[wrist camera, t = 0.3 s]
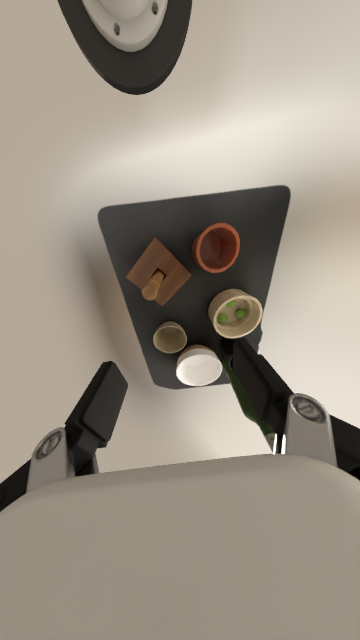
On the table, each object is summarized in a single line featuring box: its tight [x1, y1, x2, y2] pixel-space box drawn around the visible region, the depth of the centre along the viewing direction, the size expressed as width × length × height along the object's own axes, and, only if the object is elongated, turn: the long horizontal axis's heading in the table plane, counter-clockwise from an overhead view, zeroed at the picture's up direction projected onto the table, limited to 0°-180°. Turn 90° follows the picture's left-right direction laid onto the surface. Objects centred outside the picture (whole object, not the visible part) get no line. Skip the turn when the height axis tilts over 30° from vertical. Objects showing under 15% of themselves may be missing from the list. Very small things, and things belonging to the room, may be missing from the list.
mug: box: [220, 336, 244, 370], centre depth 44 cm, size 9×12×9 cm
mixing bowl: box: [208, 289, 263, 338], centre depth 38 cm, size 13×13×7 cm
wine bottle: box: [222, 357, 276, 453], centre depth 40 cm, size 8×8×30 cm
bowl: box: [176, 345, 222, 386], centre depth 47 cm, size 16×16×8 cm
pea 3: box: [235, 309, 246, 318], centre depth 40 cm, size 3×3×3 cm
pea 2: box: [226, 299, 236, 307], centre depth 38 cm, size 3×3×3 cm
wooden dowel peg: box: [142, 268, 165, 300], centre depth 26 cm, size 2×2×20 cm
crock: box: [191, 223, 240, 273], centre depth 28 cm, size 8×8×10 cm
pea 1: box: [218, 314, 228, 323], centre depth 40 cm, size 3×3×3 cm
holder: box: [126, 237, 191, 306], centre depth 32 cm, size 11×11×7 cm
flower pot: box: [153, 321, 187, 353], centre depth 41 cm, size 10×10×7 cm
